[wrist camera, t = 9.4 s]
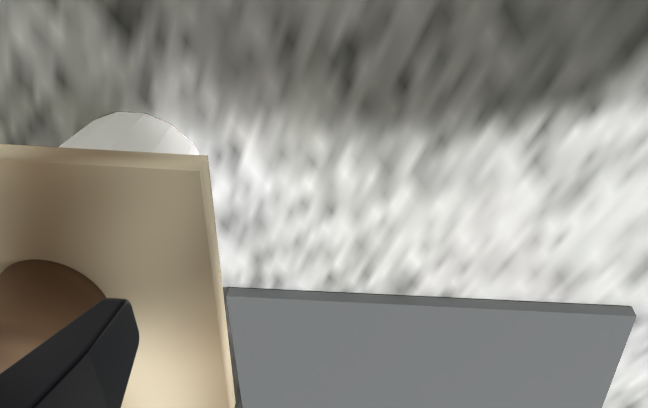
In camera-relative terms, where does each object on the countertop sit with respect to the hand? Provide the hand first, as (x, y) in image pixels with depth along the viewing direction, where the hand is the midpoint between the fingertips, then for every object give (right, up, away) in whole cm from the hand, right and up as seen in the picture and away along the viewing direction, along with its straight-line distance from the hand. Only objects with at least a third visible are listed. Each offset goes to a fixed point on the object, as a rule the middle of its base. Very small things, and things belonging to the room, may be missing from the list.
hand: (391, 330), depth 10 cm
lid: (-9, -1, +9) cm, 13 cm away
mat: (+4, -10, +22) cm, 24 cm away
